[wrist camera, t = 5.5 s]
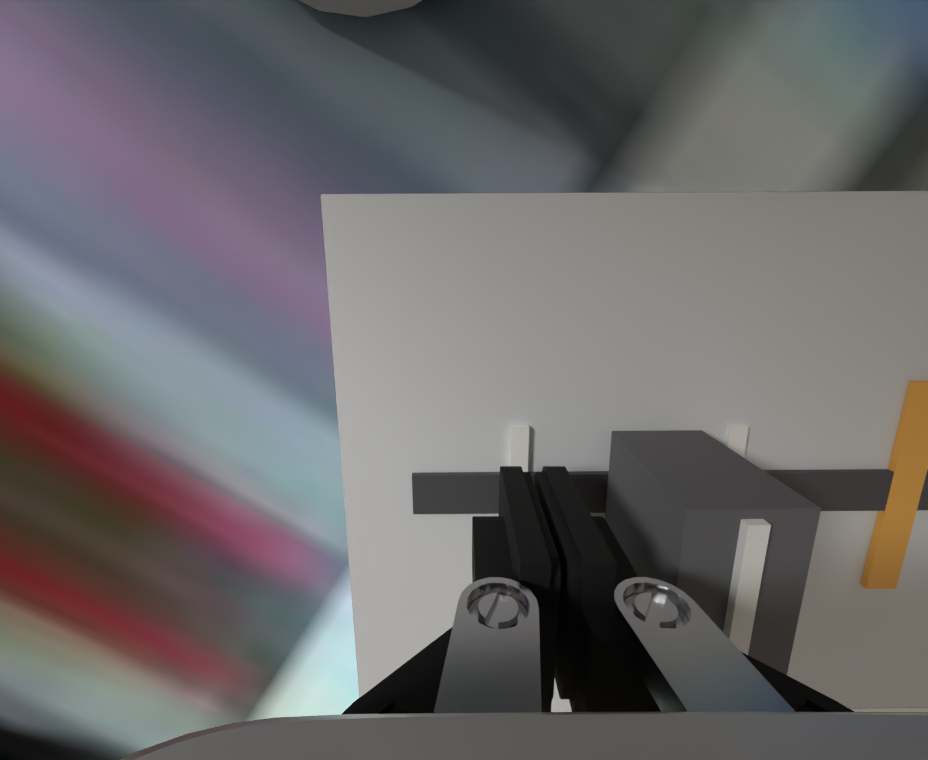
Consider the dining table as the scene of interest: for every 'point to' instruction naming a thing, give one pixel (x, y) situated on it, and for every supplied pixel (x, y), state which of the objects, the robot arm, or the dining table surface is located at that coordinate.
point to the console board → (636, 389)
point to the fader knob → (714, 533)
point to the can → (360, 6)
